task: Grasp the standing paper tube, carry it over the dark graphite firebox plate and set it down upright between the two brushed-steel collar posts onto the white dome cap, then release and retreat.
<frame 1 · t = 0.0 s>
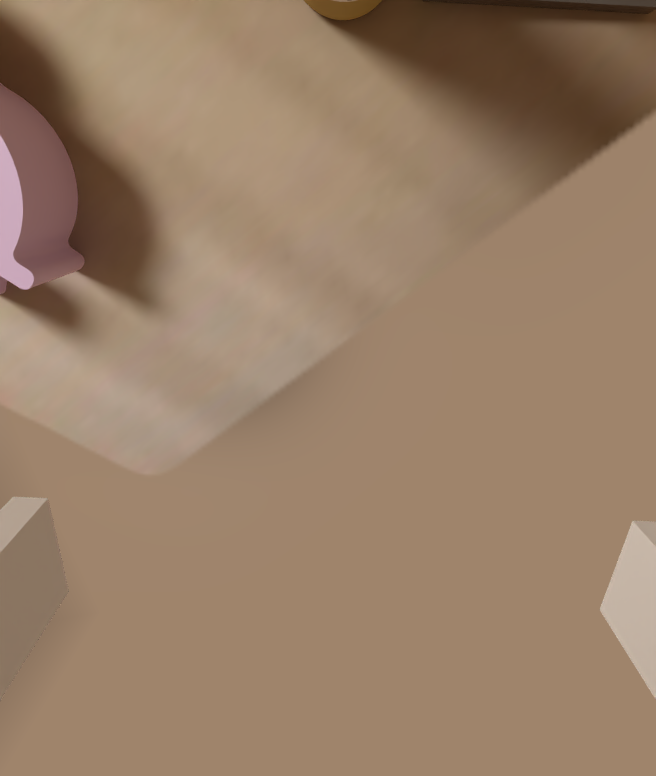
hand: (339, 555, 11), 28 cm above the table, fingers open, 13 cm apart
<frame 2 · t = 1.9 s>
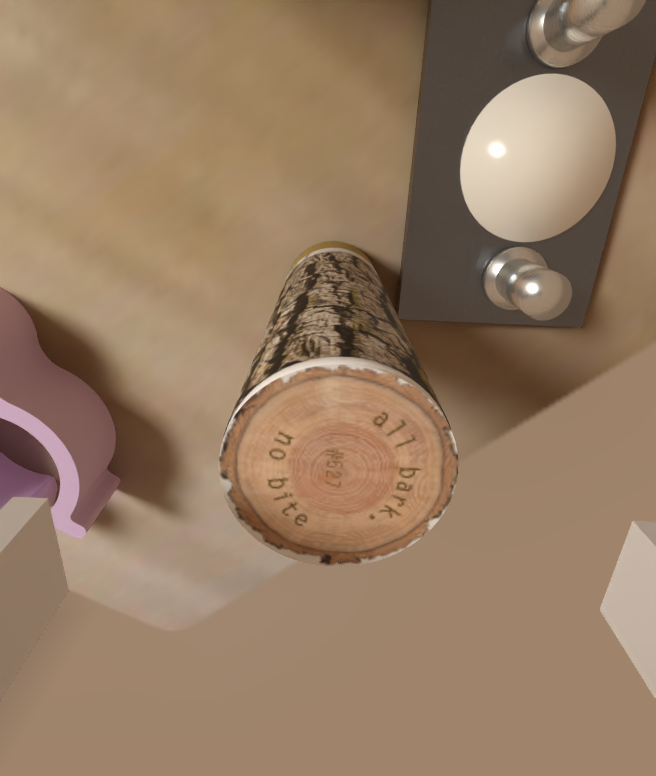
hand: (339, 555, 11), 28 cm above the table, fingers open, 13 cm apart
paper tube: (332, 285, 37), on the table
collar post 1: (507, 274, 36), resting on firebox plate
firebox plate: (511, 178, 33), on the table
white dome cap: (528, 163, 33), resting on firebox plate
collar post 2: (554, 30, 30), resting on firebox plate
clip: (28, 399, 41), on the table
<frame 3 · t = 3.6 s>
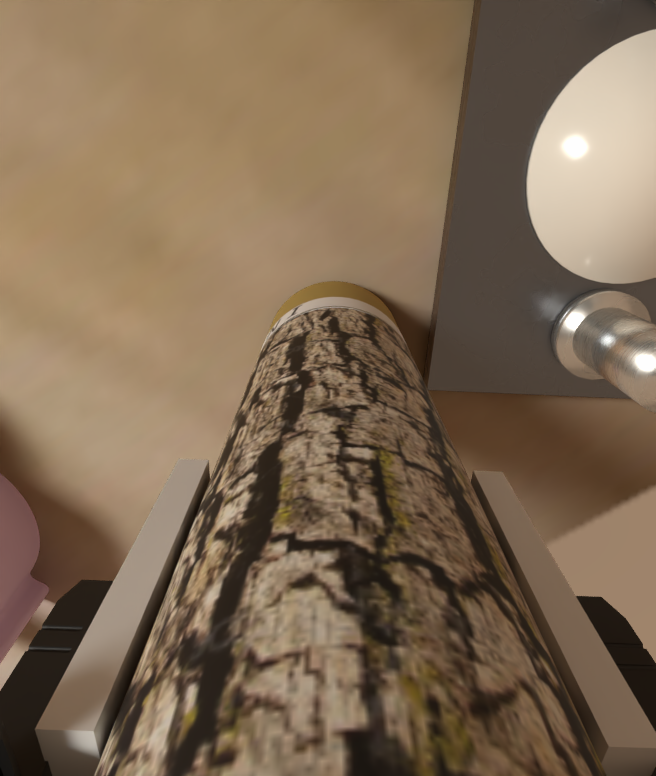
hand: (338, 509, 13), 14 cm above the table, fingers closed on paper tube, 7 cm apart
paper tube: (333, 341, 26), on the table, touching gripper
collar post 1: (584, 325, 25), resting on firebox plate
firebox plate: (598, 190, 23), on the table
white dome cap: (626, 168, 22), resting on firebox plate
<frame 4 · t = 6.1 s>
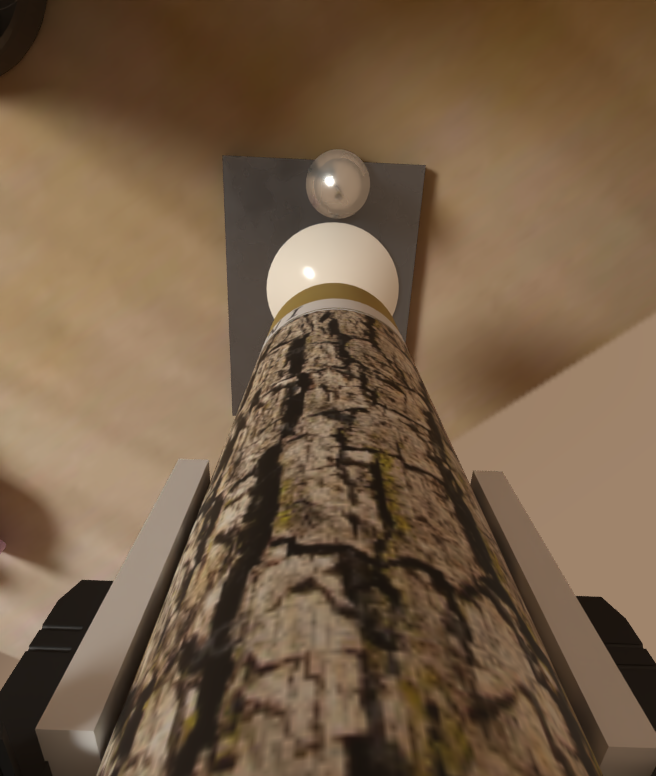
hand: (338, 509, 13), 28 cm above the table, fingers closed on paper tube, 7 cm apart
paper tube: (333, 342, 26), point 13 cm above the table, touching gripper
firebox plate: (319, 299, 38), on the table
white dome cap: (332, 287, 38), resting on firebox plate
collar post 2: (337, 184, 35), resting on firebox plate
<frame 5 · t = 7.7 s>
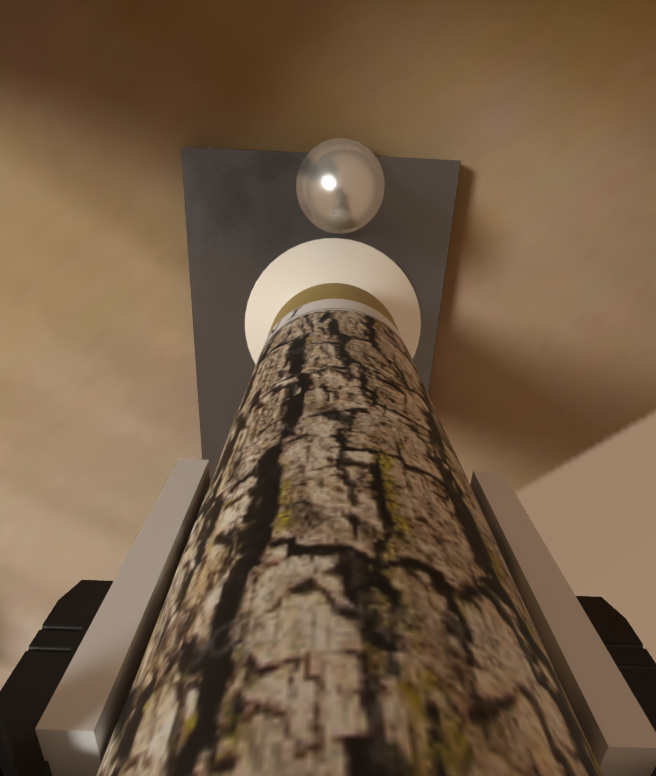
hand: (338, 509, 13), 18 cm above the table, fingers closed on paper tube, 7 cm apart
paper tube: (333, 342, 26), point 3 cm above the table, touching gripper
firebox plate: (315, 337, 29), on the table
white dome cap: (332, 322, 29), resting on firebox plate
collar post 2: (339, 186, 26), resting on firebox plate
when the fingers open (16 cm above the table, at t = 8.4 s): paper tube stays where it is, resting on white dome cap.
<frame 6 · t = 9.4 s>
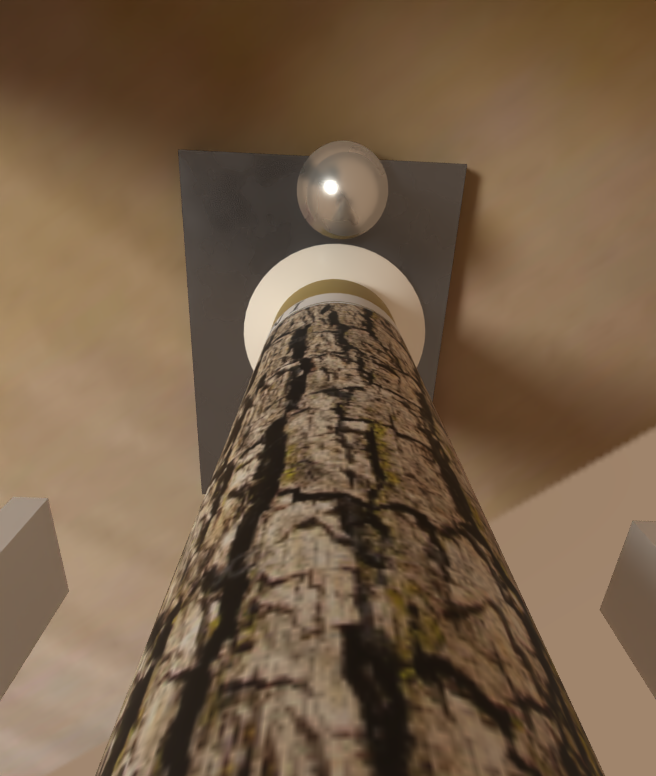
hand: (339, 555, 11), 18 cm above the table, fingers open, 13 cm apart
paper tube: (333, 336, 27), point 1 cm above the table, touching white dome cap
firebox plate: (316, 345, 28), on the table
white dome cap: (334, 330, 28), resting on firebox plate
collar post 2: (341, 190, 25), resting on firebox plate
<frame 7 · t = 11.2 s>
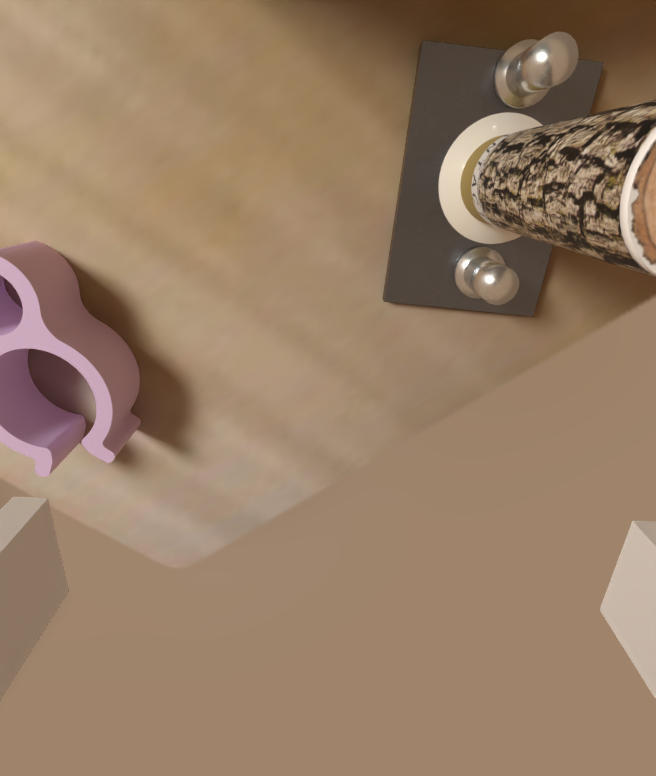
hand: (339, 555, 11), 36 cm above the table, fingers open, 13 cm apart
paper tube: (498, 181, 40), point 1 cm above the table, touching white dome cap
collar post 1: (474, 269, 44), resting on firebox plate
firebox plate: (479, 192, 42), on the table
white dome cap: (493, 181, 41), resting on firebox plate
collar post 2: (516, 79, 38), resting on firebox plate
clip: (67, 346, 48), on the table
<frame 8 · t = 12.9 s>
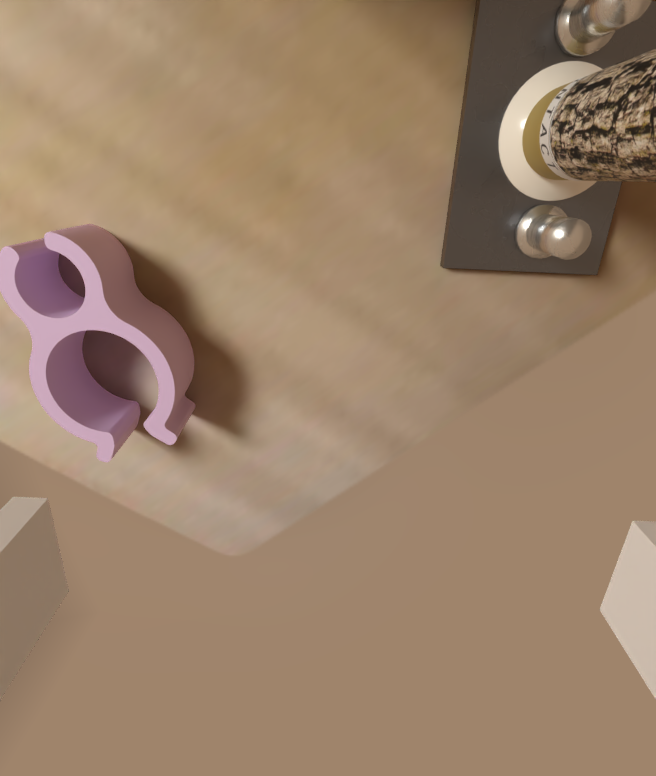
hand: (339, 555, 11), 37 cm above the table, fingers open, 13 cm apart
paper tube: (560, 134, 39), point 1 cm above the table, touching white dome cap
collar post 1: (534, 229, 43), resting on firebox plate
firebox plate: (539, 148, 41), on the table
white dome cap: (553, 135, 40), resting on firebox plate
collar post 2: (576, 26, 37), resting on firebox plate
clip: (121, 331, 48), on the table
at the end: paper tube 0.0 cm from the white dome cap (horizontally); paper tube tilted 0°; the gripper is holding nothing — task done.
